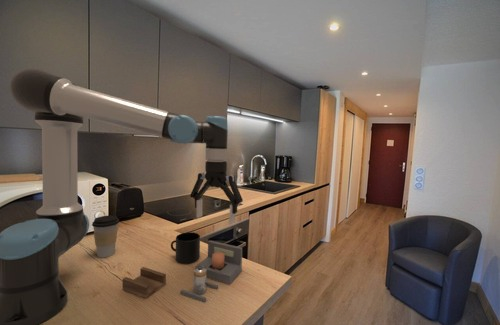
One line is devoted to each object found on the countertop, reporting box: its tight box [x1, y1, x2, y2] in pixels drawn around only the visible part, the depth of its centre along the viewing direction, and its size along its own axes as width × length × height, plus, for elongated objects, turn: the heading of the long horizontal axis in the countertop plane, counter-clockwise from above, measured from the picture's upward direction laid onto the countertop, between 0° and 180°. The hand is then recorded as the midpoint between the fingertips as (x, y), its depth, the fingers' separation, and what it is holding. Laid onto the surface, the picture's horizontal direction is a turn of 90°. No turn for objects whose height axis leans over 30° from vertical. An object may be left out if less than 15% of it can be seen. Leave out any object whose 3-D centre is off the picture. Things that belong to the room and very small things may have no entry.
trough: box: [121, 266, 167, 299], centre depth 74 cm, size 8×10×3 cm
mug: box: [170, 231, 201, 264], centre depth 94 cm, size 9×12×9 cm
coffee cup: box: [91, 214, 120, 258], centre depth 94 cm, size 9×9×15 cm
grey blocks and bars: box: [179, 240, 243, 303], centre depth 79 cm, size 20×14×9 cm
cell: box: [192, 266, 207, 296], centre depth 73 cm, size 4×4×8 cm
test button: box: [212, 252, 225, 270], centre depth 83 cm, size 4×4×4 cm
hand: (215, 219), depth 83 cm, fingers open, 13 cm apart
